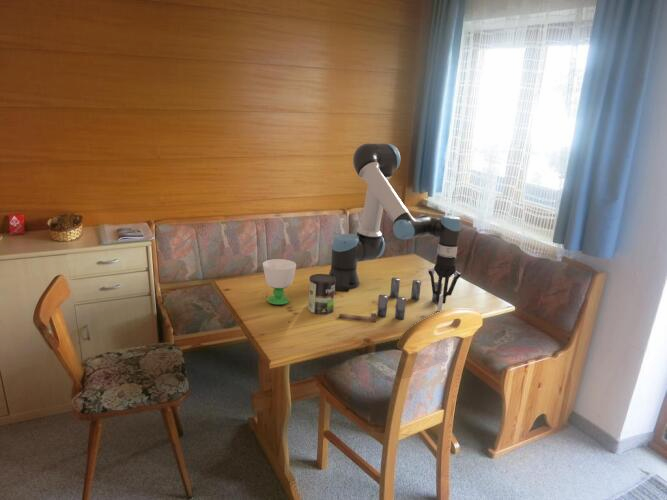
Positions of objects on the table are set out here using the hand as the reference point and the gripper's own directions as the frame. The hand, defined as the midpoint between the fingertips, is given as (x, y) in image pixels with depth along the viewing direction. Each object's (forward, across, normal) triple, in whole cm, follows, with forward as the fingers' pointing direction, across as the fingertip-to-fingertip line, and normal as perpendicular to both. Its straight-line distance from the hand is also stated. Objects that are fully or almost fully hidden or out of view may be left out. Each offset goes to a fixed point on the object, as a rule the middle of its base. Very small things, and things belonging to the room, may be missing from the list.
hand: (439, 310), depth 198 cm
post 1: (+1, -23, -12) cm, 26 cm away
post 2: (+1, -19, +11) cm, 22 cm away
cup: (+2, -66, -7) cm, 66 cm away
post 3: (+1, -16, -12) cm, 20 cm away
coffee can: (+2, -47, -13) cm, 49 cm away
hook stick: (+1, -32, -18) cm, 37 cm away
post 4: (+1, -10, +11) cm, 15 cm away
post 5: (+1, -1, +11) cm, 11 cm away
